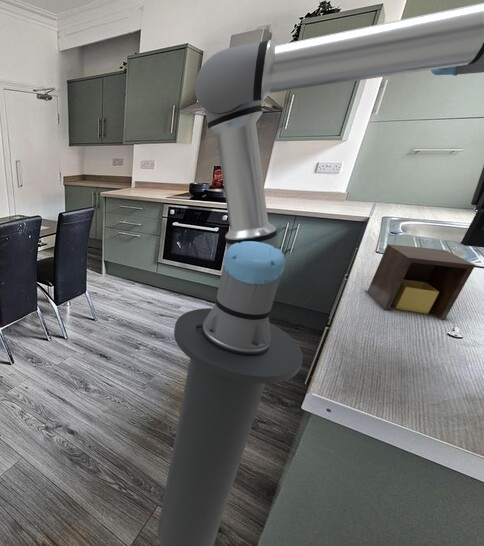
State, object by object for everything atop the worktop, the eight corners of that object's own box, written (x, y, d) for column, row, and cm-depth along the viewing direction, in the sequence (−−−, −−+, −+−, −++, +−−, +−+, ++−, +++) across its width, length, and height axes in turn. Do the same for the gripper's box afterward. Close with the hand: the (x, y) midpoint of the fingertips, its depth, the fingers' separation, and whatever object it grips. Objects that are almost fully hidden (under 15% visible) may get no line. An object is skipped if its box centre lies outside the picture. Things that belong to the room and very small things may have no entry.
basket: (427, 313, 88) (439, 291, 85) (395, 308, 91) (405, 287, 88) (415, 303, 94) (426, 282, 91) (385, 298, 96) (395, 278, 94)
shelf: (445, 319, 85) (475, 265, 79) (384, 309, 90) (408, 257, 84) (420, 299, 96) (445, 249, 90) (367, 291, 101) (387, 244, 94)
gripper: (624, 104, 44) (527, 259, 53) (545, 111, 55) (476, 239, 64) (546, 106, 47) (467, 252, 56) (486, 112, 58) (428, 234, 67)
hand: (472, 245), depth 60 cm, fingers closed
